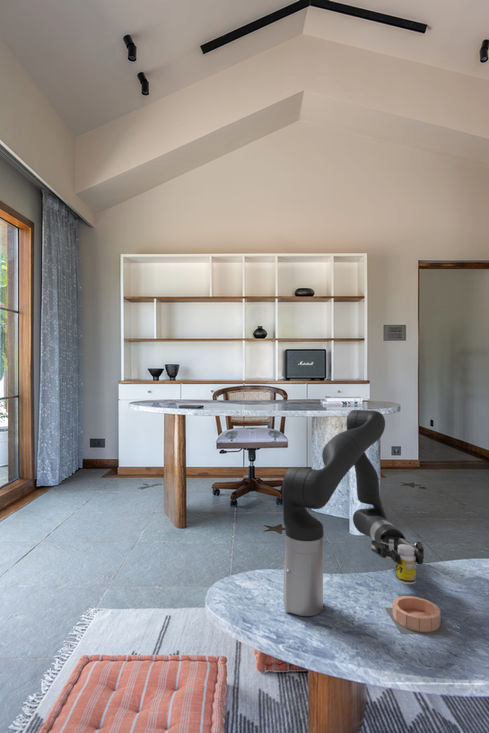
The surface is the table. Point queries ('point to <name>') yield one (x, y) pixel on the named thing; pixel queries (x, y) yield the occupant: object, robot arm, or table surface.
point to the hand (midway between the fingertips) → (410, 560)
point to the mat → (406, 631)
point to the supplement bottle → (406, 565)
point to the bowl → (416, 614)
